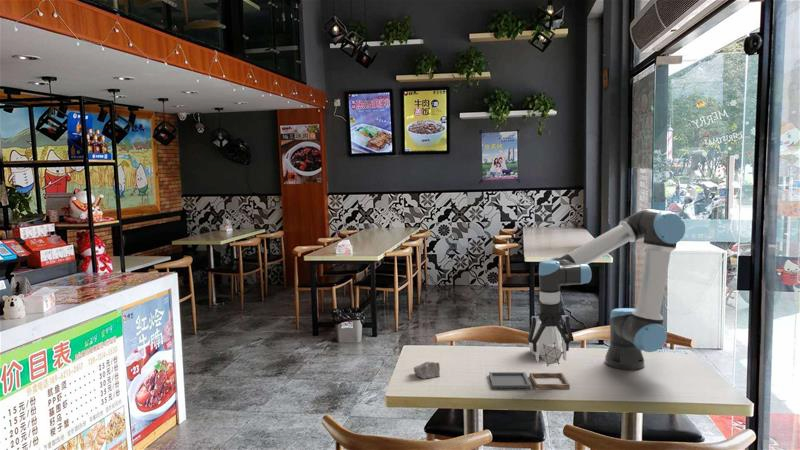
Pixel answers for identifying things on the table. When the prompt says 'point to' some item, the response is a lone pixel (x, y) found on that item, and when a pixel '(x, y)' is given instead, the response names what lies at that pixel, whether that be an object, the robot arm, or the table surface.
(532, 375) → the corral
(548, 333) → the vase
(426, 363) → the stone
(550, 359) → the game die
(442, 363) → the table surface
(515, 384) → the tray
